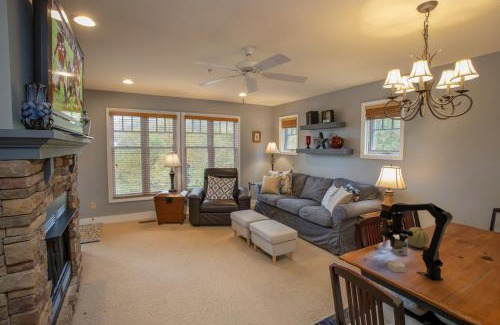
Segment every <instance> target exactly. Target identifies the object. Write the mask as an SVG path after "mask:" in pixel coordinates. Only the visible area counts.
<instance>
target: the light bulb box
mask: <svg viewBox="0 0 500 325" xmlns="http://www.w3.org/2000/svg"><path fill="white" fill-rule="evenodd" d="M394 237H395V239H399V235H394ZM408 244H409V243H408V240H407V239H406V240H405V241H404V242H403V249H394V248H392V247H391V249H392V250H393V251H394V253H395V254H396V255H399V256H408Z"/></svg>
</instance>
